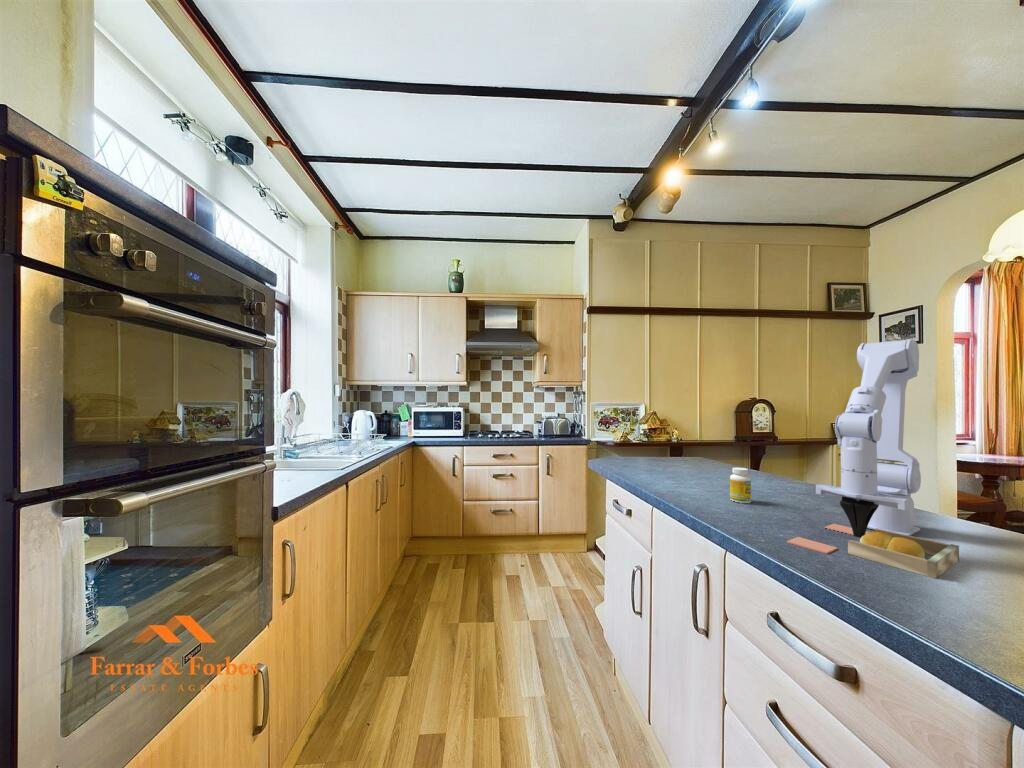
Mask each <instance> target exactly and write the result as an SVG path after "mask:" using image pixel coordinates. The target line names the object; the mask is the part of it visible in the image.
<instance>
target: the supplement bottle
mask: <svg viewBox="0 0 1024 768" xmlns="http://www.w3.org/2000/svg"><path fill="white" fill-rule="evenodd" d="M748 474H749V469H748V468H745V467H732V474H731V475H730V476H729V500H730V501H731V500H732V501H731V502H733V501H735V502H740V503H739V504H742V503H748V504H751V503H752V479H751V476H749V475H748ZM735 502H734V503H735Z"/></svg>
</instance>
